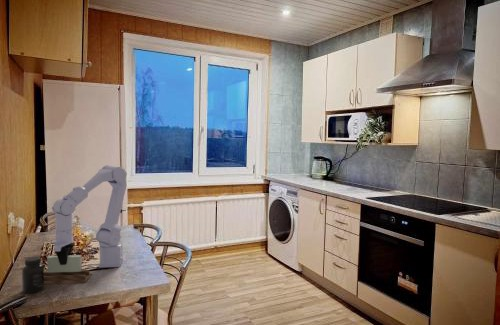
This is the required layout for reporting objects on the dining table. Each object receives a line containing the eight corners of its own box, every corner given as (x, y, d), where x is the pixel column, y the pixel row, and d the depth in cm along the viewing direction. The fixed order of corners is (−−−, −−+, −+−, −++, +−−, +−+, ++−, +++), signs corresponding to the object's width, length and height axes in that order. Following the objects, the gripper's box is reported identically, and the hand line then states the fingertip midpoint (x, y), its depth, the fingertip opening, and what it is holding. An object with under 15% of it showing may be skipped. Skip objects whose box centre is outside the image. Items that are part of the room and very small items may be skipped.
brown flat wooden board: (91, 274, 142) (91, 268, 142) (85, 282, 135) (85, 276, 134) (44, 276, 140) (44, 270, 139) (35, 284, 132) (35, 278, 132)
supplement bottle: (17, 292, 125) (17, 260, 124) (35, 284, 132) (34, 254, 131) (31, 295, 123) (30, 263, 122) (48, 288, 129) (47, 257, 128)
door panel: (81, 269, 139) (81, 255, 138) (80, 271, 137) (79, 256, 136) (49, 270, 137) (49, 255, 136) (47, 272, 135) (47, 257, 134)
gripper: (60, 225, 142) (60, 257, 143) (45, 235, 128) (45, 270, 129) (78, 224, 143) (78, 256, 144) (65, 234, 129) (65, 270, 130)
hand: (64, 263), depth 137 cm, fingers closed on door panel, 2 cm apart
